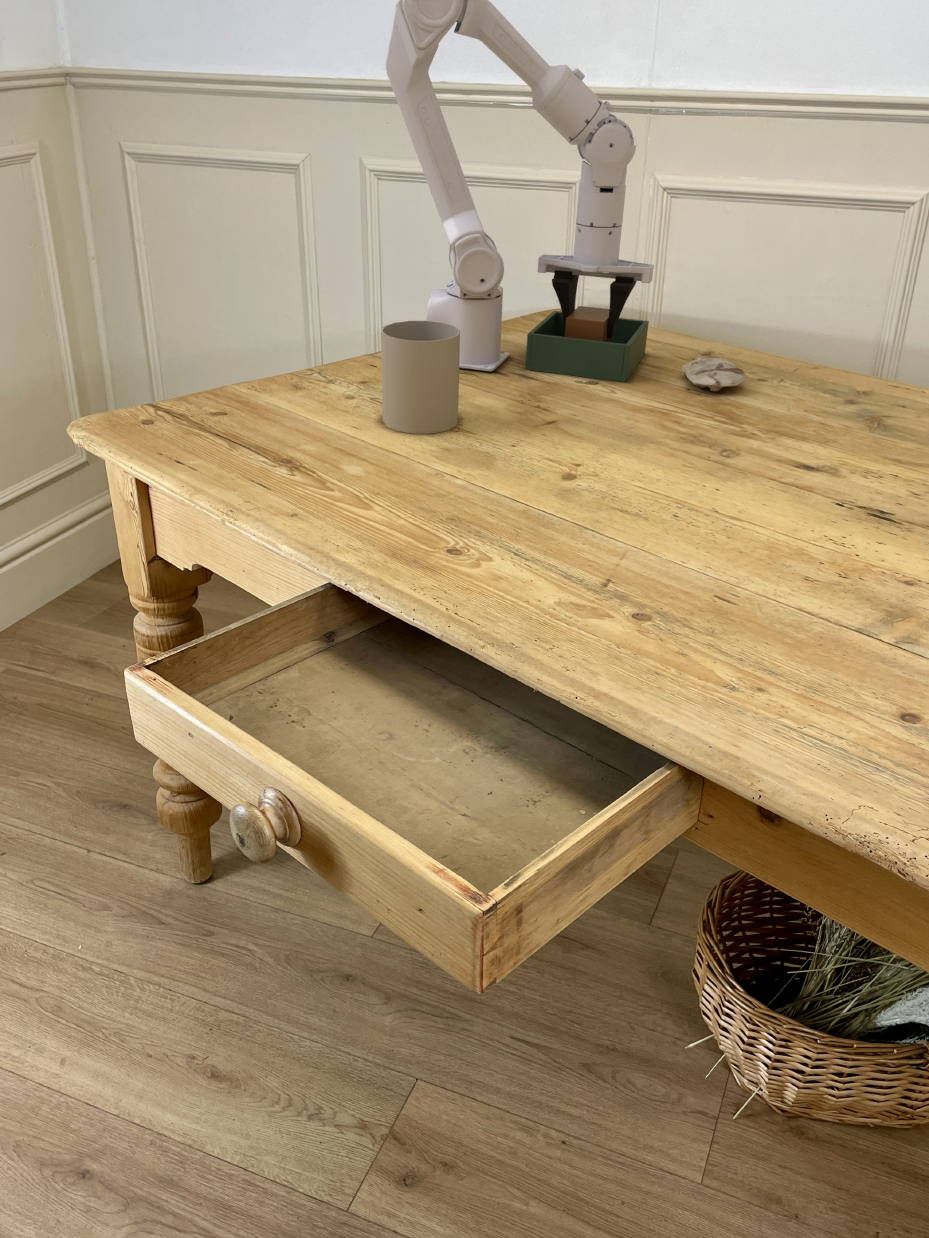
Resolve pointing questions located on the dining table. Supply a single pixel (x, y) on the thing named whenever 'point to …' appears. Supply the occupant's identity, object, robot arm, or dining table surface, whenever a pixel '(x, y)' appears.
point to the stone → (713, 372)
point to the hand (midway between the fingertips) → (589, 334)
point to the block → (588, 324)
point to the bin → (586, 350)
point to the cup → (420, 376)
